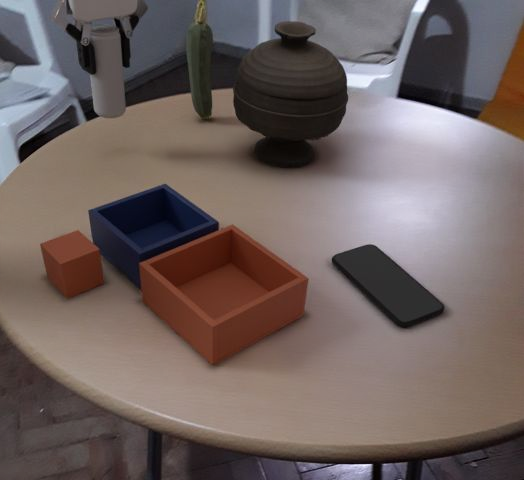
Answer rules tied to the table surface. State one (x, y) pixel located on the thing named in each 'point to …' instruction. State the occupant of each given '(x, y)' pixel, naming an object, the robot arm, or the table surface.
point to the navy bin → (146, 227)
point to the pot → (290, 95)
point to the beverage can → (107, 71)
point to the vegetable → (200, 61)
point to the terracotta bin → (223, 292)
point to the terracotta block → (72, 263)
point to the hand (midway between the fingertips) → (105, 66)
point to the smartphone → (388, 285)
